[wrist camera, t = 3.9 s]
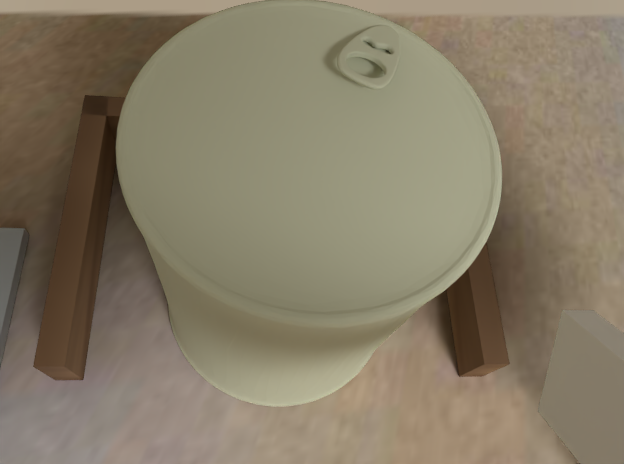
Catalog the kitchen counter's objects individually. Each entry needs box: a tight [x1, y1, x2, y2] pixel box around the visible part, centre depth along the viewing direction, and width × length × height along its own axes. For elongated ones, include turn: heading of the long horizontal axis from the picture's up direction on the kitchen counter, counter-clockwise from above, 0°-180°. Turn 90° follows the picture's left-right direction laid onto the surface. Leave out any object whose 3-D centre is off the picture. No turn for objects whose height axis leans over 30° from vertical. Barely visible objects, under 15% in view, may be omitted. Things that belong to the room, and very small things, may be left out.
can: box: [116, 0, 502, 407], centre depth 17 cm, size 9×9×12 cm
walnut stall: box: [33, 95, 509, 380], centre depth 23 cm, size 17×12×2 cm
